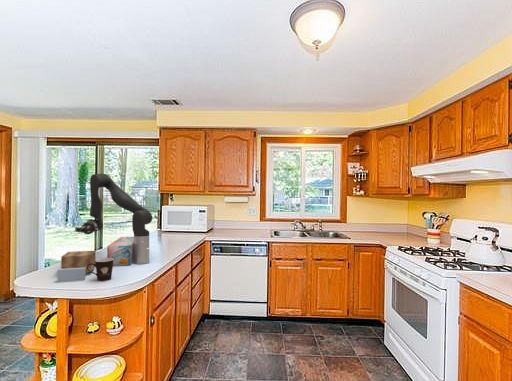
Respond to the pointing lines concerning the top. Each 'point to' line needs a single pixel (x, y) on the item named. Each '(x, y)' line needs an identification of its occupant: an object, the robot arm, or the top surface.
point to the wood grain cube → (78, 260)
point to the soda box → (121, 251)
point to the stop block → (70, 274)
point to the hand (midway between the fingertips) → (83, 230)
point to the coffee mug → (103, 268)
